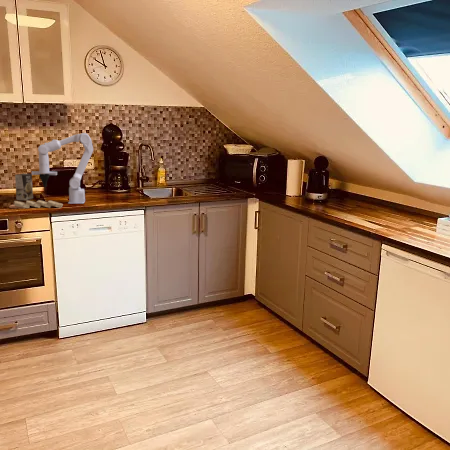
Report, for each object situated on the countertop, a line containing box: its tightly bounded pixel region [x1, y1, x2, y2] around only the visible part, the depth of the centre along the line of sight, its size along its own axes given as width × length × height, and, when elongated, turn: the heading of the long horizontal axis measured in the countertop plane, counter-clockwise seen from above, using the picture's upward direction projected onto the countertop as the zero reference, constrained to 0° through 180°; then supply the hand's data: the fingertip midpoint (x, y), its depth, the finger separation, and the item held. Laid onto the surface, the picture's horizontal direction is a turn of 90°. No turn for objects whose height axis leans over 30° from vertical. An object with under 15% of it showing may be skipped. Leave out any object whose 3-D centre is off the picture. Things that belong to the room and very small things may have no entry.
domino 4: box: [47, 200, 64, 209], centre depth 284 cm, size 2×5×8 cm
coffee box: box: [14, 173, 34, 201], centre depth 304 cm, size 9×6×16 cm
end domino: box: [9, 204, 26, 209], centre depth 281 cm, size 2×5×8 cm
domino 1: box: [13, 200, 30, 209], centre depth 278 cm, size 2×5×8 cm
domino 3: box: [36, 199, 53, 209], centre depth 283 cm, size 2×5×8 cm
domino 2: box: [25, 199, 42, 209], centre depth 281 cm, size 2×5×8 cm
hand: (45, 186), depth 292 cm, fingers closed
